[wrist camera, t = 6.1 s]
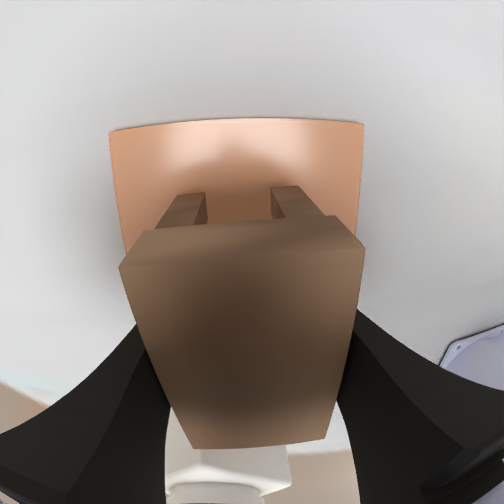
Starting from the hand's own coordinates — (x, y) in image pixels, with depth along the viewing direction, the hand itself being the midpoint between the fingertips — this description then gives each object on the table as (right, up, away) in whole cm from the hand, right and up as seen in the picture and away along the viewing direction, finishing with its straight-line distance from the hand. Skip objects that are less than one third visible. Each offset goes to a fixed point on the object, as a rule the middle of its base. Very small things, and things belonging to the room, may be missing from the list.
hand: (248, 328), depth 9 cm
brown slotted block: (0, +2, +3) cm, 4 cm away
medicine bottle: (-3, -9, +10) cm, 14 cm away
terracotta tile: (0, +2, +5) cm, 5 cm away
